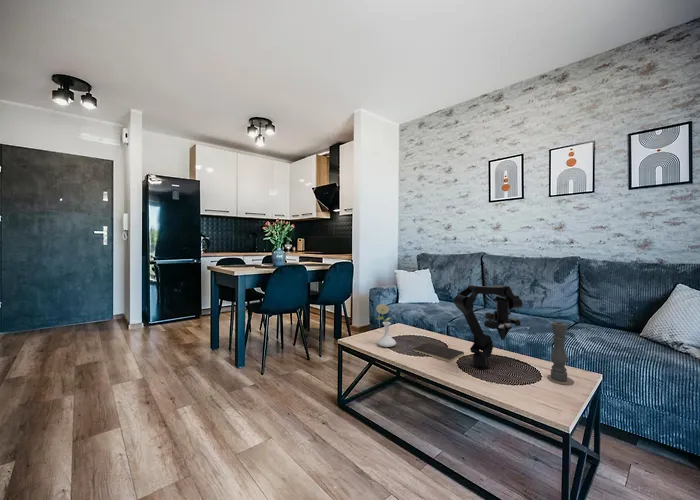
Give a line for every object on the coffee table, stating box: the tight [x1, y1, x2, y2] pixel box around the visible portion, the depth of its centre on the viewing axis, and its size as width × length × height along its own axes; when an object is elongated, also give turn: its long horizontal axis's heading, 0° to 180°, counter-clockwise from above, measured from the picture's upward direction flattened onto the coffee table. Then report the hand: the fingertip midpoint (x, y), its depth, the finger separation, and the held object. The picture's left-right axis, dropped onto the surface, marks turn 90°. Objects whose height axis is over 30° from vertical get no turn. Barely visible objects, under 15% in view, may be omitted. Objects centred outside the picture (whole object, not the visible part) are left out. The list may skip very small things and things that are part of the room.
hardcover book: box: [412, 342, 465, 363], centre depth 175 cm, size 16×23×2 cm
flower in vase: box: [375, 303, 397, 348], centre depth 188 cm, size 13×11×25 cm
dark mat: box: [546, 374, 575, 386], centre depth 139 cm, size 10×10×1 cm
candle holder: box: [550, 321, 568, 382], centre depth 139 cm, size 6×6×25 cm
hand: (502, 339), depth 159 cm, fingers closed
